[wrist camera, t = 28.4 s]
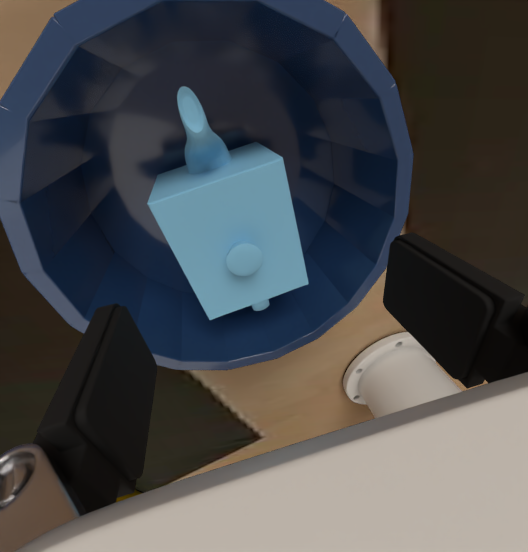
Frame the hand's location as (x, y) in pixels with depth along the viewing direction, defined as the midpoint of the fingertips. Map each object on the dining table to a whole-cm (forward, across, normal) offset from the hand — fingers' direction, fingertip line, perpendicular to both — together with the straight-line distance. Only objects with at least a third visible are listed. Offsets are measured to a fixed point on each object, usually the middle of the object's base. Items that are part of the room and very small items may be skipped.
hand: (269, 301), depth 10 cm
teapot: (+11, +1, -1) cm, 11 cm away
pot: (+12, +1, -1) cm, 12 cm away
